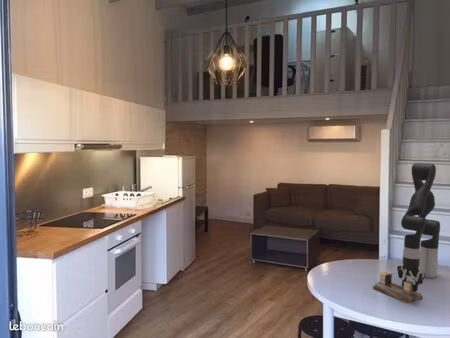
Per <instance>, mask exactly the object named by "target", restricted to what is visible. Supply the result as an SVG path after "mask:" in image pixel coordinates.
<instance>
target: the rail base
mask: <svg viewBox="0 0 450 338" xmlns="http://www.w3.org/2000/svg"><path fill="white" fill-rule="evenodd" d="M392 277H393V275H392V272H389V271H383V272H380V273H379V281H378V282H377V281H376V282H375V284H374V285H373V286H372V289H373V290H375V291H376V292H380V293H381V294H382V293H383V294H385V295H387V296H389V297H391V298H394V299H396V300H398V301H400V302H403V303H405V304H409V303H412V302H416V301H420V300H423V297H424V296H423V295H422V293H421V292H418V291H416V294H412V295H406V294H404V293H403V286H402V284H401V285H400V284H398V283H395V282H393V278H392Z"/></svg>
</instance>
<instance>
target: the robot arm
mask: <svg viewBox="0 0 450 338" xmlns="http://www.w3.org/2000/svg"><path fill="white" fill-rule="evenodd" d="M436 175H437V167H436V165H435V164H434V163H429V162H428V163H427V162H415V163H413V164H412V166H411V176H412V177H411V178H412V182H413V186H414V193H413V194H412V195H411V197H410V201H409V205H408V208H407V210H406V212H405V213H404V215H403V216H402V218H401V221H400V223H401V224H400V225H401V227H402V228H403V230H408V231H412V232H413V231H415V233H412V234H411V233H410V234H409V233H408V234H406V235H404V240H403V241H404V242H403V251H402V265H397V266H396V269H397V275H398V278H399V279H401V286H403V288H404V282H405V281H408V277H410V278H411V280H412V281H413V292H418V290H419V289H418V288H419V286H420V285H422V284H423V282H424V278H428V279H436V278H437V277H438V269H439V266H438V265H439V259H438V258H439V256H438V255H439V242H440V241H439V239H440V231H441V223H440V221H439V220H436V219H435V220H434V219H427V216H428V215H429V214H430V213H432V211H433V210H434V208H435V207H436V206H435V205H436V199H435V195H434V193H433V192H432V187H433V185H434V181H435V179H436ZM423 181H425V182H423ZM422 235H424V236H430V237H431V238H428V239H423V240H421V239H422Z"/></svg>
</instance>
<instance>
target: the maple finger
mask: <svg viewBox="0 0 450 338" xmlns="http://www.w3.org/2000/svg"><path fill="white" fill-rule="evenodd" d="M416 292H417V291H416ZM416 292H413V280H412V279H411V280H407V281H405V282H404V288H403V293H404V294H406V295H412V294H416Z"/></svg>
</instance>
